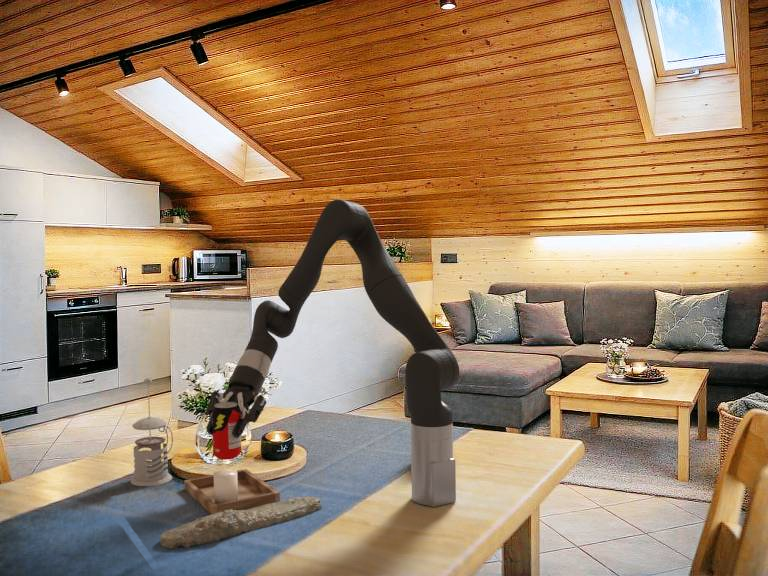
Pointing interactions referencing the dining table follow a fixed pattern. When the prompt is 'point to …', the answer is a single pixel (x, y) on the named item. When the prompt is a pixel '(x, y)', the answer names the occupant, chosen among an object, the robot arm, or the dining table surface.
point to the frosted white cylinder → (225, 486)
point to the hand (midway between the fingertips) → (222, 434)
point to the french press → (151, 452)
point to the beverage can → (225, 430)
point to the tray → (249, 492)
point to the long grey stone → (237, 522)
